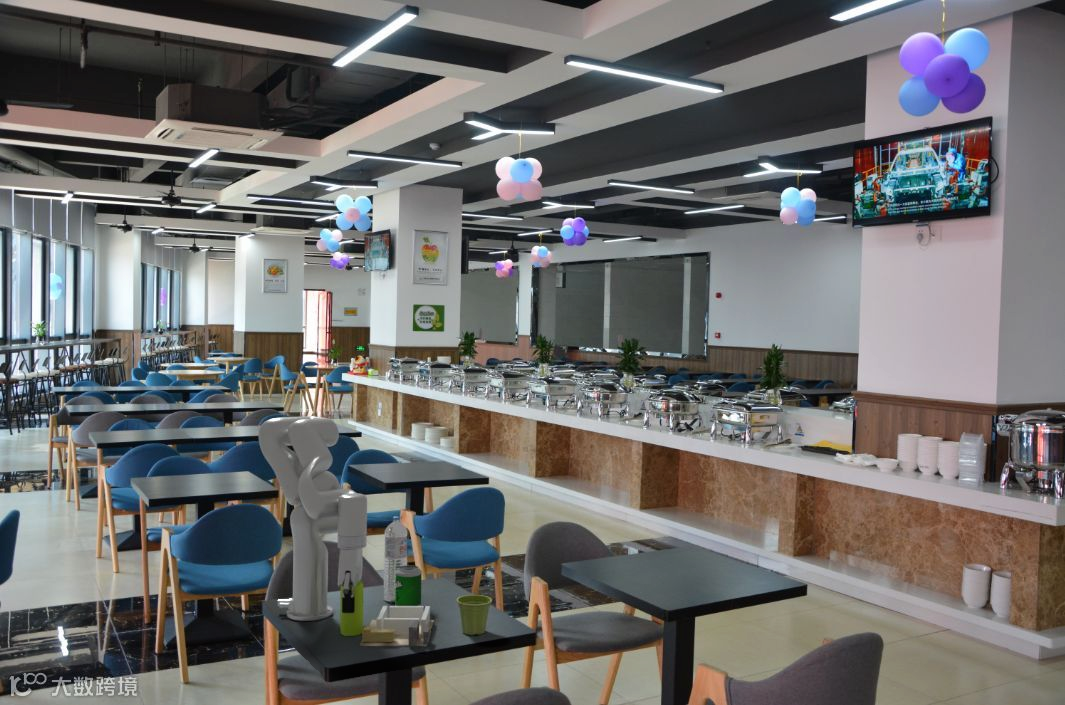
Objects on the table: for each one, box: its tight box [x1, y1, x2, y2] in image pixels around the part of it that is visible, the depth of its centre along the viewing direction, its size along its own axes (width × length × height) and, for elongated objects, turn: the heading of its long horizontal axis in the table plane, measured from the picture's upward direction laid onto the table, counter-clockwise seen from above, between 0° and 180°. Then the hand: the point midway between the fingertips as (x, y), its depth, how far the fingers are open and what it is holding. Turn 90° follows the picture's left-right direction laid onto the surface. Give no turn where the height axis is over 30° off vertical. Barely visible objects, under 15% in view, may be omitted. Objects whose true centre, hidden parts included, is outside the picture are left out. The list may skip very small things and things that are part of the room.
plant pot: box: [456, 594, 493, 636], centre depth 227 cm, size 9×9×9 cm
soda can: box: [394, 564, 423, 606], centre depth 246 cm, size 8×8×12 cm
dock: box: [376, 605, 431, 635], centre depth 228 cm, size 13×12×4 cm
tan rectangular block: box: [361, 625, 395, 642], centre depth 216 cm, size 8×2×3 cm, turn 92°
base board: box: [359, 619, 435, 647], centre depth 224 cm, size 17×21×5 cm
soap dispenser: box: [339, 580, 364, 637], centre depth 223 cm, size 6×7×20 cm
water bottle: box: [383, 516, 408, 603], centre depth 255 cm, size 7×7×25 cm
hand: (350, 608), depth 224 cm, fingers closed on soap dispenser, 6 cm apart
